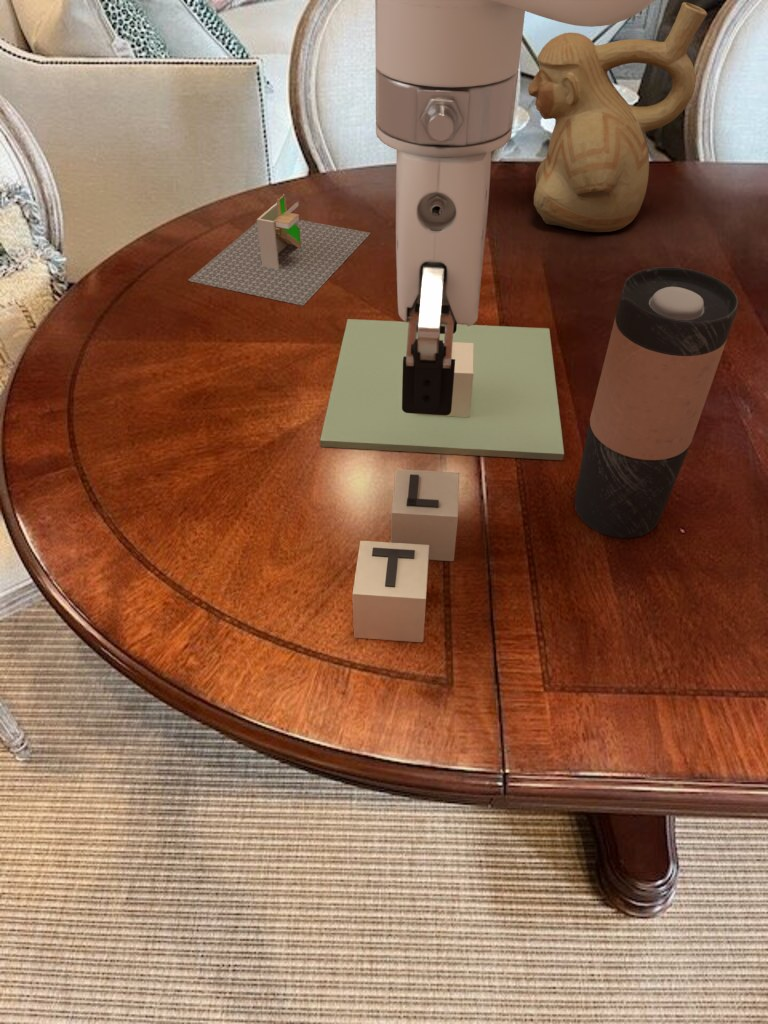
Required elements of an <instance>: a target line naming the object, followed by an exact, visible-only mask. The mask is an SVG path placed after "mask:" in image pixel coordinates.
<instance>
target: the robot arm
mask: <svg viewBox="0 0 768 1024" xmlns="http://www.w3.org/2000/svg"><path fill="white" fill-rule="evenodd" d="M655 1H656V0H374V7H375V8H374V21H375V22H374V23H375V24H374V26H375V27H374V29H375V31H374V32H375V35H374V36H375V37H374V38H375V45H374V46H375V134H376V137H377V138H378V140H379V141H380V142H381V143H383V144H384V145H386V146H387V147H389V148H391V149H394V150H396V163H395V164H396V166H395V167H396V169H395V170H396V171H395V255H396V256H395V261H396V262H395V264H396V291H397V292H396V293H397V295H396V296H397V313H398V316H399V317H400V319H401V320H402V321H403V322H406V323H407V322H408V337H407V352H406V356H404V357H403V382H402V410H403V411H404V412H405V413H413V414H429V415H449V414H450V413H451V409H452V396H453V383H454V370H455V359H451V357H452V343H453V334H454V333H455V332H456V328H457V324H464V325H467V326H471V325H475V324H476V322H477V321H478V319H479V307H480V298H481V297H480V296H481V286H482V285H481V283H482V276H483V275H482V273H483V265H484V264H483V263H484V253H485V244H486V243H485V242H486V233H487V223H488V212H489V200H490V184H491V165H492V152H493V151H496V150H498V149H501V148H502V147H504V146H505V145H506V144H507V143H509V142H510V140H511V138H512V130H513V123H514V122H513V121H514V114H515V107H516V106H515V105H516V95H517V87H518V86H517V85H518V77H519V68H520V61H521V51H522V44H523V43H522V42H523V34H524V25H525V24H524V23H525V15H526V12H527V13H530V14H532V15H535V16H538V17H541V18H544V19H548V20H552V21H555V22H558V23H563V24H566V25H571V26H577V27H586V28H587V27H588V28H589V27H590V28H594V27H605V26H611V25H613V24H617V23H619V22H623V21H626V20H629V19H630V18H633V17H635V16H636V15H637V14H639V13H640V12H642V11H643V10H645V9H646V8H648V7H649V6H650V5H652V4H653V3H654V2H655ZM417 332H418V339H417ZM440 334H445V336H444V343H443V340H439V339H440Z"/></svg>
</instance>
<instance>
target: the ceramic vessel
mask: <svg viewBox="0 0 768 1024" xmlns="http://www.w3.org/2000/svg"><path fill="white" fill-rule="evenodd" d="M707 16H708V12H707V11H706V10H705V9H704V8H702V7H700V6H698V5H696V4H692V3H689V2H685V1H684V2H682V3H681V6H680V8H679V11H678V13H677V16H676V18H675V21H674V23H673V25H672V27H671V29H670V31H669V32H668V33H669V34H668V35H667V37H666V38H665V40H664V41H657V40H653V39H652V40H651V39H642V38H630V39H619V40H616V41H611V42H608V43H607V42H606V43H603V44H599V45H598V44H597V45H596V44H595V43H594V42H593V41H592V40H591V39H590V38H589V37H587V36H586V35H584V34H582V33H580V32H564V33H560V34H559V35H556V36H554V37H553V38H551V39H550V40H548V41H547V43H545V44H544V46H542V48H541V50H540V51H539V53H538V55H537V58H536V60H537V63H539V68H538V69H539V70H538V71H537V73H536V74H535V76H534V77H533V79H532V81H531V82H530V83H529V85H528V88H527V89H528V90H527V91H528V95H530V97H534V98H536V99H535V101H534V105H535V108H536V110H537V111H538V112H539V114H540V116H541V118H542V119H544V120H551V119H554V120H555V121H554V122H555V124H554V127H553V129H552V132H551V135H550V139H549V143H548V147H547V153H546V156H545V158H544V159H543V160H542V161H541V162H540V164H539V166H538V168H537V171H536V173H535V190H534V194H533V206H534V207H535V210H536V212H537V213H538V214H539V216H540V217H541V218H542V221H543V222H544V223H545V224H547V225H549V226H557V227H561V228H565V229H569V230H573V231H579V232H588V233H610V232H616V231H619V230H622V229H623V228H625V227H627V226H628V225H630V224H631V223H632V222H633V221H634V220H635V218H636V217H637V216H638V214H639V212H640V210H641V207H642V205H643V203H644V199H645V197H646V193H647V187H648V183H649V175H650V174H649V173H650V154H649V146H648V141H647V137H646V132H650V131H653V130H657V129H660V128H662V127H664V126H666V125H668V124H671V122H673V121H675V120H676V119H677V118H678V117H679V116H680V115H681V114H682V113H683V111H685V109H686V108H687V106H688V105H689V103H690V102H691V100H692V98H693V95H694V91H695V87H696V71H695V66H694V64H693V62H692V61H691V59H690V57H689V55H688V53H687V51H688V49H689V47H690V46H691V43H692V41H693V39H694V37H695V35H696V33H697V32H698V30H699V29H700V27H701V25H702V23H703V22H704V20H705V19H706V17H707ZM627 64H628V65H630V64H646V65H649V66H654V67H657V68H660V69H662V70H664V71H665V72H666V73H668V75H669V76H670V78H671V81H672V86H671V89H670V91H669V92H668V94H667V96H666V97H665V98H664V99H662V100H661V101H659V102H657V103H654V104H652V105H648V106H636V105H631V104H629V103H628V102H627V100H626V99H625V98H624V97H623V95H622V94H621V93H620V92H619V90H618V89H617V88H616V87H615V85H614V83H613V82H612V81H611V79H610V77H609V74H608V71H610V70H612V69H614V68H617V67H620V66H623V65H627Z"/></svg>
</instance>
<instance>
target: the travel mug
mask: <svg viewBox="0 0 768 1024" xmlns="http://www.w3.org/2000/svg"><path fill="white" fill-rule="evenodd" d="M738 307H739V299H738V297H737V294H736V292H734V290H733V289H732V288H731V287H730V286H729V285H728V284H726V283H725V282H723V281H722V280H720V279H718V278H716V277H715V276H713V275H709V274H707V273H704V272H701V271H698V270H693V269H691V268H690V269H689V268H683V267H674V266H658V267H657V266H656V267H650V268H646V269H641V270H639V271H636V272H635V273H634V272H633V274H631V275H630V276H628V277H627V278H626V279H625V280H624V283H623V285H622V290H621V293H620V297H619V300H618V304H617V307H616V308H617V309H616V312H615V317H614V321H613V324H612V329H611V332H610V337H609V341H608V345H607V349H606V353H605V357H604V361H603V365H602V368H601V373H600V376H599V381H598V385H597V389H596V393H595V397H594V401H593V405H592V409H591V412H590V416H589V417H590V418H589V422H588V427H587V432H586V437H585V442H584V447H583V448H584V449H583V453H582V457H581V463H580V467H579V473H578V478H577V484H576V489H575V495H574V508H575V511H576V513H577V516H578V518H580V520H581V521H582V522H583V523H584V525H587V527H589V528H590V529H592V530H594V531H595V532H598V533H600V534H602V535H605V536H608V537H612V538H617V539H633V538H638V537H642V536H645V535H647V534H649V533H650V532H652V531H653V530H654V529H655V527H656V526H657V525H658V523H659V522H660V520H661V518H662V515H663V513H664V511H665V508H666V505H667V503H668V500H669V498H670V495H671V493H672V491H673V489H674V487H675V484H676V481H677V479H678V477H679V473H680V471H681V468H682V466H683V464H684V461H685V459H686V457H687V455H688V452H689V449H690V447H691V444H692V441H693V439H694V435H695V433H696V430H697V427H698V424H699V422H700V419H701V415H702V413H703V409H704V407H705V404H706V401H707V398H708V395H709V392H710V389H711V387H712V384H713V381H714V378H715V376H716V372H717V370H718V366H719V364H720V361H721V358H722V355H723V352H724V350H725V346H726V343H727V341H728V337H729V334H730V332H731V329H732V326H733V323H734V322H735V321H734V320H735V318H736V315H737V311H738Z"/></svg>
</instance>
